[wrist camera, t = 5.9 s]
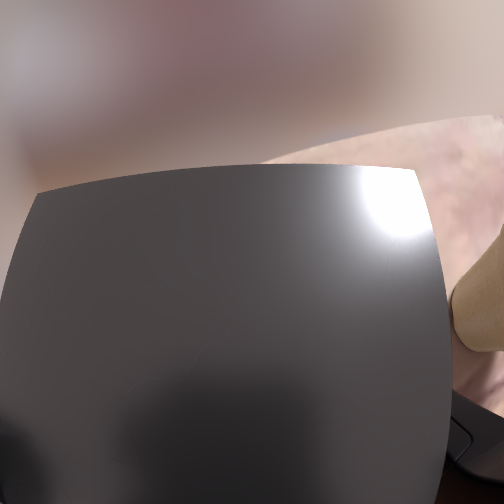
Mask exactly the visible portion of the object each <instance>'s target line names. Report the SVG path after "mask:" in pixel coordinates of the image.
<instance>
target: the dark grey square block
mask: <svg viewBox="0 0 504 504" xmlns="http://www.w3.org/2000/svg"><path fill="white" fill-rule="evenodd" d="M451 403H452V345H451V330H450V320H449V311H448V303H447V296H446V289H445V283H444V277H443V272H442V267H441V262H440V257H439V253H438V248H437V244H436V240H435V236H434V232H433V228H432V225H431V221H430V218H429V214H428V211H427V208H426V205H425V201H424V198H423V195H422V192H421V189H420V187H419V184H418V181H417V178H416V176H415V173H414V170H405V169H395V168H384V167H371V166H355V165H334V164H253V165H232V166H231V165H230V166H214V167H201V168H189V169H178V170H169V171H160V172H152V173H144V174H137V175H130V176H123V177H117V178H111V179H105V180H99V181H94V182H88V183H83V184H78V185H73V186H69V187H64V188H59V189H55V190H51V191H47V192H42V193H38V194H37V196H36V198H35V200H34V203H33V205H32V207H31V209H30V212H29V214H28V216H27V218H26V221H25V223H24V226H23V228H22V231H21V233H20V236H19V239H18V242H17V244H16V247H15V250H14V253H13V256H12V259H11V263H10V266H9V269H8V272H7V276H6V280H5V284H4V287H3V291H2V296H1V300H0V481H1V485H2V489H3V493H4V496H5V500H6V503H7V504H434V502H435V499H436V495H437V492H438V488H439V484H440V480H441V475H442V471H443V466H444V461H445V455H446V449H447V443H448V436H449V427H450V417H451Z"/></svg>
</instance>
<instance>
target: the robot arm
mask: <svg viewBox="0 0 504 504" xmlns="http://www.w3.org/2000/svg"><path fill="white" fill-rule="evenodd" d="M0 504H7V503H6V500H5V496H4V493H3V489H2V485H1V481H0ZM434 504H504V418H503V417H501V416H499V415H497V414H495V413H493V412H491V411H489V410H487V409H485V408H483V407H481V406H479V405H477V404H476V403H474V402H472V401H470V400H469V399H467V398H466V397H464V396H462V395H461V394H459V393H458V392H456V391H455V390H453V389H452V403H451V417H450V427H449V436H448V443H447V449H446V455H445V461H444V466H443V471H442V475H441V480H440V484H439V488H438V492H437V495H436V499H435V502H434Z"/></svg>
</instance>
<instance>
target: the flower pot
mask: <svg viewBox="0 0 504 504" xmlns="http://www.w3.org/2000/svg"><path fill="white" fill-rule="evenodd" d="M451 305H452V309H453V318H454V328H455V331H456V333H457V335H458V337H459V338H460V340H461V341H462V343H463V344H464V345H465V346H466V347H468V348H469V349H471V350H473V351H476V352H487V351H504V224H503V226H502V229H501V232H500V235H499V236H498V237H497V238H496V240H495V241H494V242H493V243H492V245H491V246H490V247H489V248H488V249H487V251H486V252H485V253H484V254H483V255H482V256H481V258H480V259H479V260H478V261H477V262H476V263H475V264H474V265H473V266H472V268H471V269H470V270H469V271H468V272H467V273H466V274H465V275H464V276H463V277H462V278H461V279H460V280H459V281H458V283H457V285H456V287H455V290H454V293H453V297H452V304H451Z"/></svg>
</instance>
